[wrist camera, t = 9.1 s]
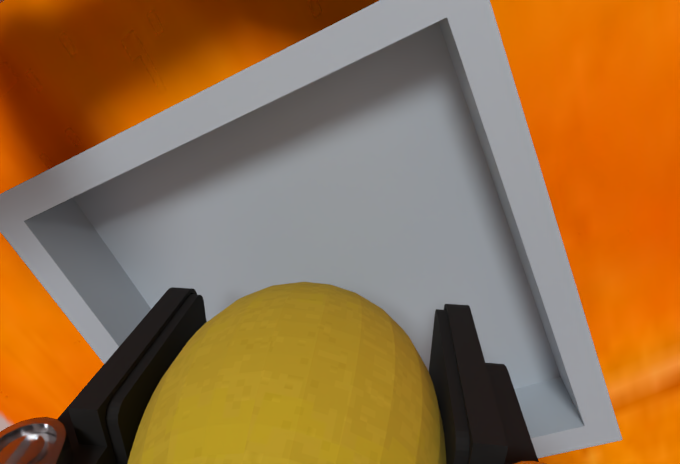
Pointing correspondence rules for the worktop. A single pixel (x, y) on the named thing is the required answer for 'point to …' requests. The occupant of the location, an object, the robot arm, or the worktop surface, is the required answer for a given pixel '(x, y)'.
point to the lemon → (294, 387)
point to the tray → (336, 204)
